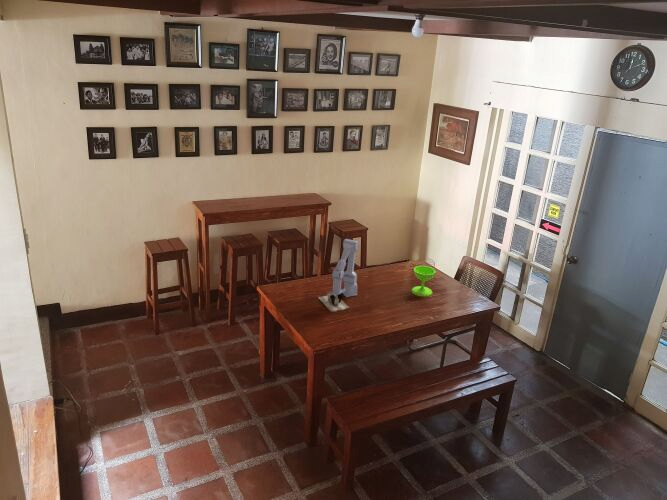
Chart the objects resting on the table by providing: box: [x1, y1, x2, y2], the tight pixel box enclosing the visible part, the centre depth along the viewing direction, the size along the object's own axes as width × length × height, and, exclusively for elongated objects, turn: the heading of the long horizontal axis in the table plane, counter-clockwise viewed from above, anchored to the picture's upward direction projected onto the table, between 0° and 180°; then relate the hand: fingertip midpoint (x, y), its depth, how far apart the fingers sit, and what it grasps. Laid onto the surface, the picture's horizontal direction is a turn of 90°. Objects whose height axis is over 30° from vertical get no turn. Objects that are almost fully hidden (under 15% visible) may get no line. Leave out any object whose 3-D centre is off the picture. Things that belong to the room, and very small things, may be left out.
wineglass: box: [410, 265, 436, 298], centre depth 399 cm, size 16×16×18 cm
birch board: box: [317, 295, 350, 313], centre depth 378 cm, size 14×22×1 cm, turn 26°
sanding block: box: [328, 295, 339, 305], centre depth 376 cm, size 8×4×4 cm, turn 31°
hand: (336, 303), depth 374 cm, fingers closed on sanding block, 4 cm apart
